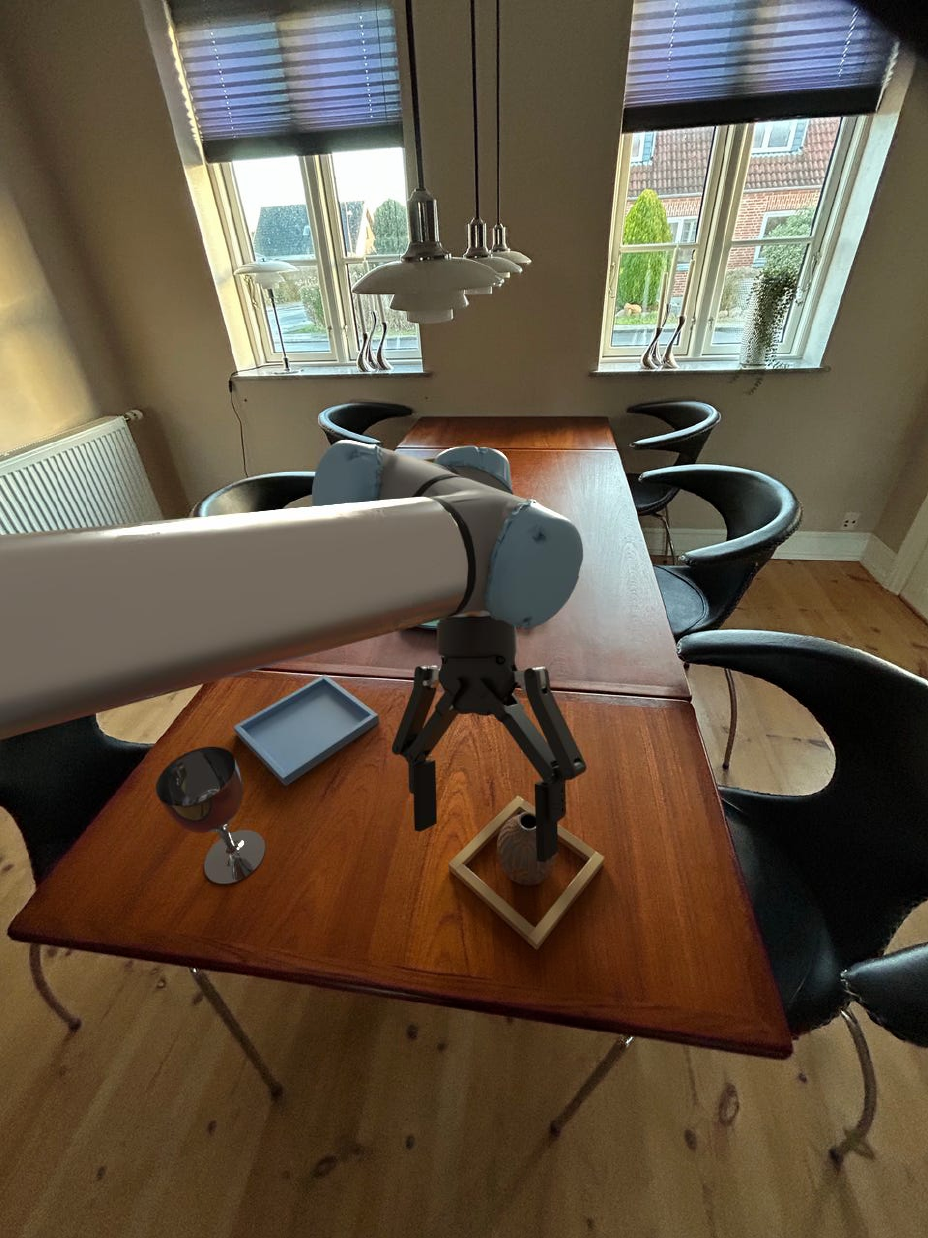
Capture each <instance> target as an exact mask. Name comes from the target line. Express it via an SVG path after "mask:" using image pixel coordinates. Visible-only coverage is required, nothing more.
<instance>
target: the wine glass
mask: <svg viewBox="0 0 928 1238" xmlns="http://www.w3.org/2000/svg"><path fill="white" fill-rule="evenodd" d="M241 774H242V773H241V772H240V768H239V766H238V763H237V760H236V759H235V757H234V755H233V753H232V752H231V751H230V750H228V749H226V748H224V747H220V746H204V747H200V748H196V749H193V750H190V751H187V752H186V753H183V754H181V755H180V756H178V757H177V758H175V759H174V760H173V761H171V762H170V763H169V764H168V765H167V766H165V768H164V769H163V770H162V772H161V774H160V775H159V777H158V779H157V781H156V785H155V793H156V796H157V798H158V800H159V802H160V804H161V805H162V807H163V808H164V810H165V811H166V813H167V814H168V816H169V817H170V818H171V819H172V820H173V821H174V822H175V823H176V824H178V825H179V826H180V827H181V828H182V829H184V830H186V831H188V832H190V833H195V834H209V833H213V832H214V833H216V834H217V835H218V836H219V837H220V839H219V840H218V841H216V842H215V843H214V844H213V845H212V846H211V848H210V849H209V851H208V852H207V854H206V856H205V859H204V863H203V869H204V870H203V871H204V874H205V876H206V877H207V879H208V880H210V881H211V882H212V883H215V884H218V885H230V884H234V883H237V882H240V881H242V880H243V879H245V878H247V877H249V876H250V875H251V874H252V873H253V872H254V871H255V870H256V869H257V868H258V867H260V866H259V865H260V864H261V863H262V861H263V859H264V857H265V853H266V843H265V839H264V837H262V835H261V834H260V833H258V832H256V831H254V830H250V829H241V830H236V831H233V832H231V833H230V829H229V825H230V823H231V822H232V820H234V818H235V817H236V816H237V814H238V813H239V811H240V809H241V807H242V804H243V798H244V786H243V780H242V775H241Z"/></svg>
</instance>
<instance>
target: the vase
mask: <svg viewBox="0 0 928 1238" xmlns="http://www.w3.org/2000/svg"><path fill="white" fill-rule="evenodd" d="M496 843H497V844H496V854H497V860H498V864H499V866H500V868H501V869H502V871H503V873H504V874H505V875H506V877H508V878H509V879H510V881H511V880H512V881H513V882H514V883H516V884H519V885H521V886H535V885H538V884H541V883H542V882H544V881H545V880H546V879H547V878H548V877H550V875H551V874H552V872H553V871H554V870H555V867H556V865H557V860H558V855H559V851H558V852H557V853H556V854H555V855H553V856H552V857H551V858H550V859H549V860H547V861H546V862H545V863H544V862H540V861H537V852H536V818H535V814H534V813H532V812H524V813H522V814H521V813H520V814H516V815H515V816H514V817H513V818H511V819H510V820H508V821H507V822H506V824H505V825H504V826H503V828H502V830H501V831H500V832H499V833H498V836H497V841H496Z"/></svg>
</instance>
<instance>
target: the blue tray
mask: <svg viewBox="0 0 928 1238" xmlns="http://www.w3.org/2000/svg"><path fill="white" fill-rule="evenodd" d="M379 723H380V718H379V714H378V713H376V711H374V710H372V709H371V708H370V707H368V706H367V705H366V704H365V703H363V702H362V701H361V700H359V699H358V698H357V697H356V696H354V695H353V694H351V693H350V692H349V691H347V690H346V689H345V688H343V687H342V686H341V685H340V684H338V683H337V682H335V681H334V680H333V679H332V678H330V677H329V676H327V675H326V674H323V675H321V676H319V677H318V678H316V679H314V680H313V681H311V682H309V683H307V684H306V685H304V686H302V687H300V688H299V689H297V690H295V691H293V692H291V693H289V694H288V695H286V696H285V697H283V698H281V699H279V700H278V701H276V702H274V703H273V704H271V705H268V706H266V707H265V708H264V709H262V710H260V711H258V712H257V713H255V714H253V715H252V716H250V717H248V718H246V719H244V720H242V721H240V722H239V723H237V724H236V725H234V726H233V727H232V728H233V730H234V733H235V735H236V736H237V737H238V738H239V739H240V740H241V742H242V743H243V744H245V745H246V747H247V748H248V749H249V750H250V751H251V752H252V753H253V754H254V755H255V756H256V757H257V758H258V759H259V760H260V762H262V764H263V765H264V766H265V767H266V768H267V769H268V770H269V771H270V772H271V773H272V774H273V775H274V776H275V777H276V778H277V779H278V780H279V781H280V782H281V784H282V785H283V786H284V787H287V786H289V785H290V784H292V783H293V782H294V781H296V780H297V779H299V778H300V777H302V776H303V775H304V774H306V773H307V772H309V771H310V770H313V768H315V767H316V766H318V765H319V764H321V763H322V762H324V761H325V760H326V759H328V758H330V757H331V756H332V755H335V753H337V752H338V751H340V750H341V749H343V748H344V747H345V746H347V745H349V744H350V743H351V742H353V741H354V740H356V739H357V738H359V737H360V736H362V735H363V734H365V733H366V732H368V731H370V730H371V729H372V728H373V727H375V726H377V725H378V724H379Z"/></svg>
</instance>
